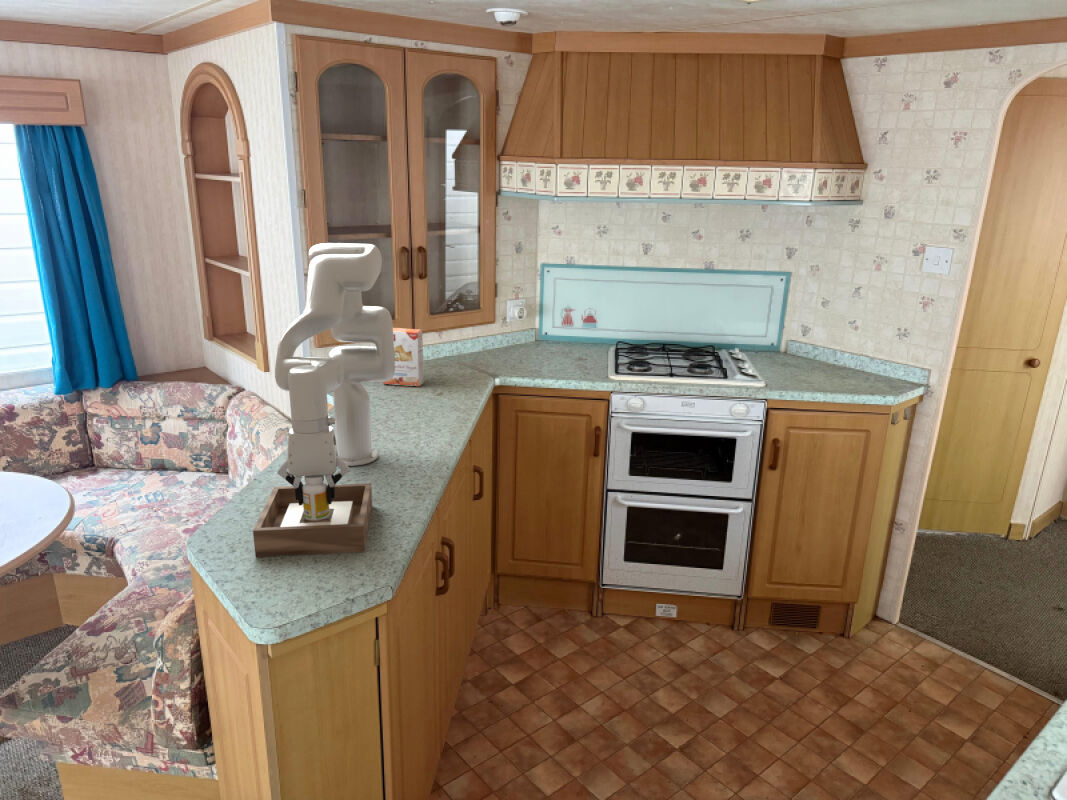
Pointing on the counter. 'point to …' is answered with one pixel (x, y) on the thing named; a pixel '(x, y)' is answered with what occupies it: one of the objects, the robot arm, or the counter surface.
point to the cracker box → (407, 357)
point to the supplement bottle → (315, 498)
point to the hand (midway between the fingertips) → (316, 501)
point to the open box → (317, 537)
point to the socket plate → (337, 514)
